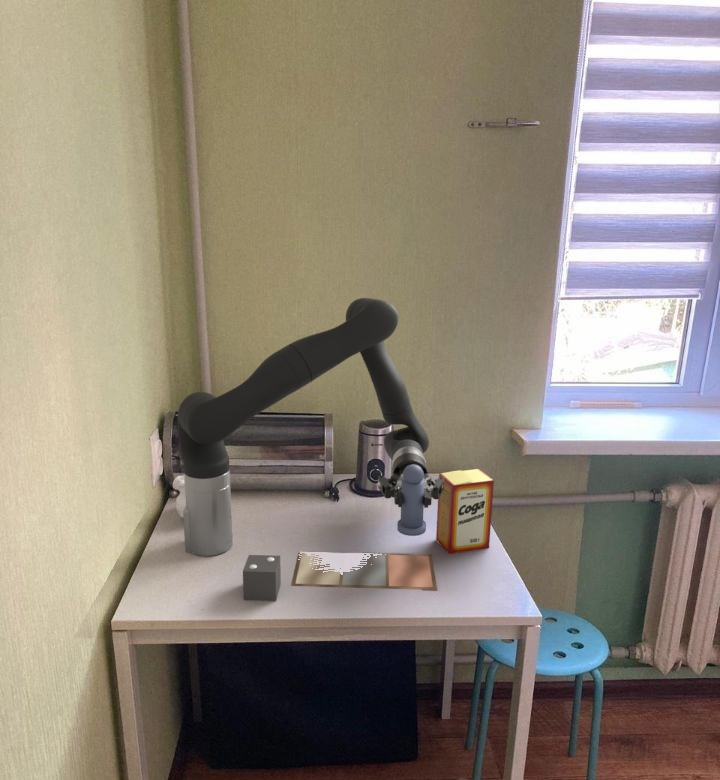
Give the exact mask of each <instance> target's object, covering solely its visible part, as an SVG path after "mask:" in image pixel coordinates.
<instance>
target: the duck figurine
mask: <svg viewBox="0 0 720 780" xmlns="http://www.w3.org/2000/svg"><path fill="white" fill-rule="evenodd" d="M172 488H173V489H174V490H176V491H179V495H178V496H177V497H176V500H175V502H176V507H175V508H176V512H177V513H178V515H179V516H180V517H181V518H182V519H183V509H184V508H185V506H186V498H185V481H184V474H182V475H178V476H176V477H175V478H174V480H173V482H172Z"/></svg>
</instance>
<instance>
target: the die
mask: <svg viewBox="0 0 720 780" xmlns="http://www.w3.org/2000/svg"><path fill="white" fill-rule="evenodd" d="M281 569H282V568H281V555H271V554H270V555H268V554H267V555H266V554H263V555H262V554H248V557H247V559H246V561H245V564H244V567H243V569H242V591H243V601H256V602H257V601H260V602H261V601H263V602H265V601H266V602H277V599H278V595H279V592H280V588H281V584H282V581H281V580H282V577H281V574H282V573H281Z"/></svg>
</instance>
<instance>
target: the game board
mask: <svg viewBox="0 0 720 780" xmlns="http://www.w3.org/2000/svg"><path fill="white" fill-rule="evenodd" d="M377 553H378V554H380V553H382V555H377V556H373V554H370V555H371V557H370V558H369V559H367V561H360V562H367V564H366V563H360V564H366V565H358V566H363V567H362V568H361V567H352V568H360V569H358V570H355V569H350V570H353V571H350V572H343V575H341V574H340V572H334V571H328V570H335V569H328V570H324V569H323V570H315V569H319V568H324V567H330V566H325V565H320V564H319V565H313V564H317V563H313V562H317V561H314V560H318V559H314V558H318V557H315V556H307V554H305V553H302V554H300V553H297V558H296V562H295V567H294V570H293V574H292V578H291V579H292V580H291V582H290V587H313V588H315V587H317V588H319V587H320V588H347V589H348V588H350V589H351V588H352V589H355V588H356V589H362V588H363V589H383V590H384V589H388V590H389V589H391V590H418V591H420V590H421V591H438V585H437V580H436V579H437V578H436V572H435V566H434V560H433V554H431V553H401V552H400V553H399V552H397V553H396V552H393V553H392V552H377ZM298 554H300V555H302V556H299V555H298ZM385 554H386V555H385ZM311 555H315V554H311ZM364 555H366V554H364ZM316 556H319V555H316ZM299 557H301V558H299ZM311 557H313V558H311ZM367 557H369V556H367ZM375 557H377V558H375ZM363 558H364V557H363ZM298 559H300V560H298ZM310 559H312V560H310ZM319 559H322V558H319ZM362 560H366V559H362ZM310 561H311V562H310ZM318 561H322V560H318ZM309 563H312V564H309ZM319 563H321V562H319ZM371 564H372V565H371ZM310 565H311V566H310ZM326 565H330V564H326ZM320 566H324V567H320ZM316 567H317V568H316ZM312 568H313V569H312ZM340 569H341V568H340ZM323 571H328V572H324V573H323Z"/></svg>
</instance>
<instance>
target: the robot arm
mask: <svg viewBox="0 0 720 780" xmlns="http://www.w3.org/2000/svg"><path fill="white" fill-rule="evenodd" d="M398 323H399V313H398V310H397V309H396V308H395V307H394V305H392V304H391V303H389V302H387V301H385V300H382V299H377V298H370V297H360V298H356V299H355V300H354V301H352V302H351V303H350V304H349V306H348V307H347V309H346V313H345V321H344V322H342V323H341V324H339V325H338V326H335V327H333V328H331V329H328V330H323V331H322V332H320V331H319V332H317V333H315V334H311V335H308V336H304V337H302V338H299V339H297V340H295V341H293V342H291V343H288V344H287V345H285V346H283V347H282V348H280V349H279V350H276V351H275V352H273V353H272V354H270V355H269V356H268V357H267V358H266V359H264V360H263V361H262V363H260V365H259V366H257V367H256V369H255V370H254V371H253V373H251V375H250V376H249V377H247V378H246V380H244V381H243V382H242V383H240V384H239V385H237V386H236V387H233V388H232V389H231V390H228V391H227V392H224V393H222V394H221V395H218V396H217V397H216V396H215V395H213V394H212V393H209V392H205V391H197V392H193V393H191V394H189V395H187V396H186V397H185V398H183V400H182V402H181V403H180V405H179V407H178V411H177V428H178V429H177V430H178V432H177V433H178V441H179V451H180V458H181V461H182V465H183V475H184V481H185V498H186V506H185V508H184V509H183V518H182V519H183V534H184V535H183V536H184V550H185V552H186V553H187V552H188V553H192V554H193V555H196V556H201V557H206V556H207V557H210V556H211V557H212V556H217V555H221V554H223V553H225V552H228V551H229V550H230V549H231V548H232V547H233V523H232V521H233V519H232V495H231V473H230V468H231V467H230V457H229V454H228V451H227V449H226V446H225V439H226V438H228V437H229V436H230V435H232V434H233V433H234V432H235V431H237V430H238V429H239V428H241V427H242V426H243V425H244V424H246V423H247V422H249V421H250V420H251V419H252V418H254V417H255V416H257V415H258V414H260V413H261V412H262V411H264V410H266V409H268V408H271V407H272V406H273V405H275V404H276V403H279V402H280V401H281V400H283V399H285V398H286V397H288V396H290V395H292V394H294V393H295V392H297V391H300V390H301V389H302V388H303V387H306V386H307V385H309V384H311V383H312V382H313V381H315V380H316V379H318V378H319V377H321V376H322V375H324V374H325V373H327V372H329V371H330V370H332V369H334V368H336V367H338V365H340V364H341V363H343V362H344V361H346V360H348V359H349V358H351V357H352V356H354V355H356V354H358V353H359V354H360V355H361V358H362V360H363V362H364V365H365V368H367V372H368V374H369V376H370V377H369V378H370V380H371V382H372V386H373V388H374V391H375V394H376V396H377V401H378V404H379V407H380V410H381V414H382V417H383V420H384V421H385V423H387V424H389V425H397V426H398V425H402V426H403V425H404V426H405V427H402V428H398V429H394V430H392V431H389V432H388V433H386V434H385V437H384V438H383V445H384V446H383V447H384V449H385V452H386V453H387V455H388V457H389V459H390V460H391V470H390V471H391V476H390V477H389V478H388V477H385V476H384V475H378V477H377V479H378V480H377V487H378V490H379V491H380V492H381V494H382V495H383V497H384V498H386V499H391V498H393V499H394V500H393V501H394V505H395V506H396V505H397V506H398V508H401V507H402V492H401V488H402V479H403V471H404V469H405V468H406V467H407V466H409V465H412V464H415V465H418V466H420V467H421V468H422V470H423V473H424V477H423V480H424V481H425V484H424V509H425V508H426V509H428V508H429V506H431V505H432V499H434V500H438V499H439V497H440V496H441V494H442V492H443V490H444V477H439V476H438V477H437V478H434V479H433V478H432V477H431V475H429V472H428V466H427V462H426V458H425V455H424V454H425V453H426V452H427V451H428V449H429V446H430V438H429V436H428V434H427V432H426V430H425V429H424V427H423V426H422V424H421V423H420V421H419V420H418V418H417V416H416V414H415V413H414V410H413V408H412V404H411V401H410V398H409V394H408V391H407V387H406V384H405V382H404V380H403V378H402V376H401V374H400V373H399V371H398V369H397V368H396V366H395V364H394V363H393V360H392V358H391V357H390V355H389V353H388V350H387V348H386V345H385V340H387V339H388V338H390V336H392V335H393V334H394V332H395V330H397V327H398ZM431 486H432V488H431Z"/></svg>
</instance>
